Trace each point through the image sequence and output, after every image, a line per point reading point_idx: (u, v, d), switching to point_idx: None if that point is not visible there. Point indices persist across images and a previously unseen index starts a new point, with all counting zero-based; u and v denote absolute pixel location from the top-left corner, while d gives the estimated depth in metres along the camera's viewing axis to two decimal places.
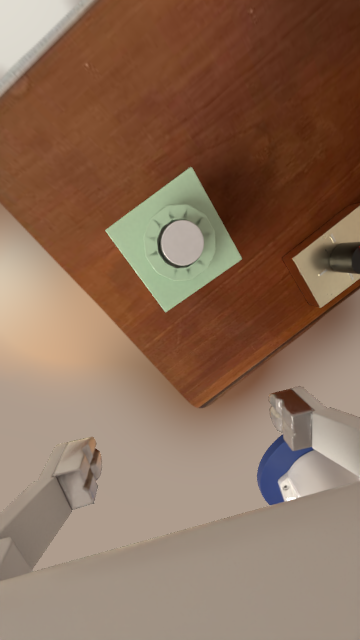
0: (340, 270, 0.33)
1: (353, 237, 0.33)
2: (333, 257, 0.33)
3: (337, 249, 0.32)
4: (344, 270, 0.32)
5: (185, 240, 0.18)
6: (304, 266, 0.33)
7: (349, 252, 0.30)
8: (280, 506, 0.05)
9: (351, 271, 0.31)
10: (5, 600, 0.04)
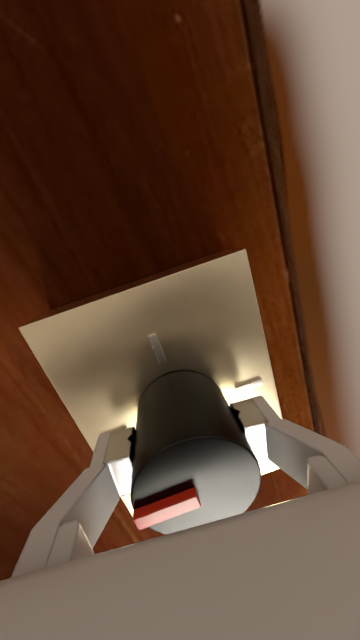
0: None
1: (131, 374, 0.10)
2: None
3: None
4: None
5: None
6: None
7: None
8: (280, 506, 0.05)
9: None
10: (5, 600, 0.04)
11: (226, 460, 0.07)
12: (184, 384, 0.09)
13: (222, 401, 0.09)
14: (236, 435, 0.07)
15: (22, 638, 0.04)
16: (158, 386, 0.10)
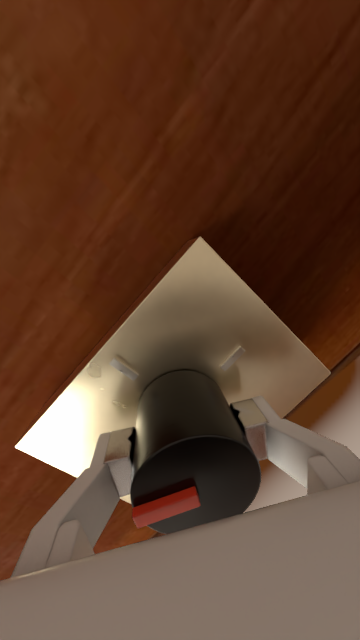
0: None
1: (196, 351, 0.10)
2: None
3: None
4: None
5: None
6: (66, 455, 0.11)
7: None
8: (280, 506, 0.05)
9: None
10: (5, 600, 0.04)
11: (227, 460, 0.07)
12: (186, 383, 0.09)
13: (223, 401, 0.09)
14: (238, 435, 0.07)
15: (22, 638, 0.04)
16: (159, 385, 0.10)
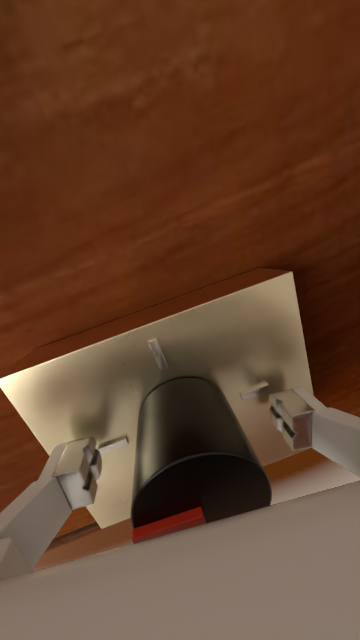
0: None
1: (229, 369, 0.10)
2: None
3: None
4: None
5: None
6: (45, 414, 0.10)
7: None
8: (280, 506, 0.05)
9: None
10: (5, 600, 0.04)
11: (236, 479, 0.06)
12: (191, 392, 0.09)
13: (230, 412, 0.09)
14: (248, 451, 0.07)
15: (22, 638, 0.04)
16: (163, 393, 0.09)
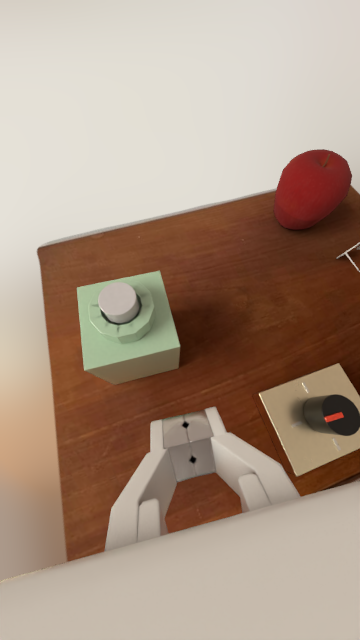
0: None
1: None
2: (320, 431, 0.27)
3: (312, 424, 0.27)
4: None
5: (120, 296, 0.21)
6: (272, 407, 0.29)
7: (328, 429, 0.25)
8: (280, 506, 0.05)
9: None
10: (5, 600, 0.04)
11: (346, 403, 0.26)
12: None
13: None
14: (346, 399, 0.26)
15: (22, 638, 0.04)
16: (312, 398, 0.29)
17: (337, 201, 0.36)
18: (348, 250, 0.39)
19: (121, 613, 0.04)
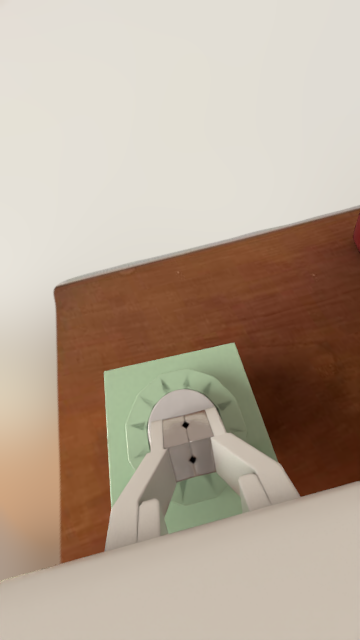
0: None
1: None
2: None
3: None
4: None
5: None
6: None
7: None
8: (280, 506, 0.05)
9: None
10: (5, 600, 0.04)
11: None
12: None
13: None
14: None
15: (22, 638, 0.04)
16: None
17: None
18: None
19: (121, 613, 0.04)
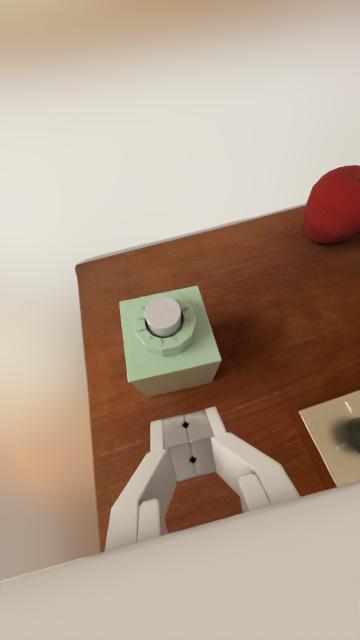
0: None
1: None
2: None
3: None
4: None
5: (165, 310, 0.22)
6: (314, 427, 0.28)
7: None
8: (280, 506, 0.05)
9: None
10: (5, 600, 0.04)
11: None
12: None
13: None
14: None
15: (22, 638, 0.04)
16: (358, 418, 0.27)
17: None
18: None
19: (121, 613, 0.04)
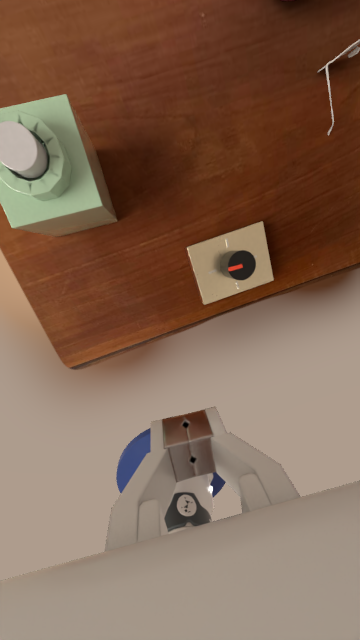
0: None
1: (245, 249, 0.36)
2: None
3: (223, 272, 0.36)
4: None
5: (17, 144, 0.19)
6: (196, 259, 0.36)
7: (230, 276, 0.34)
8: (280, 506, 0.05)
9: None
10: (5, 600, 0.04)
11: (248, 257, 0.32)
12: None
13: None
14: (251, 254, 0.33)
15: (22, 638, 0.04)
16: (228, 252, 0.35)
17: None
18: (331, 61, 0.30)
19: (121, 613, 0.04)
